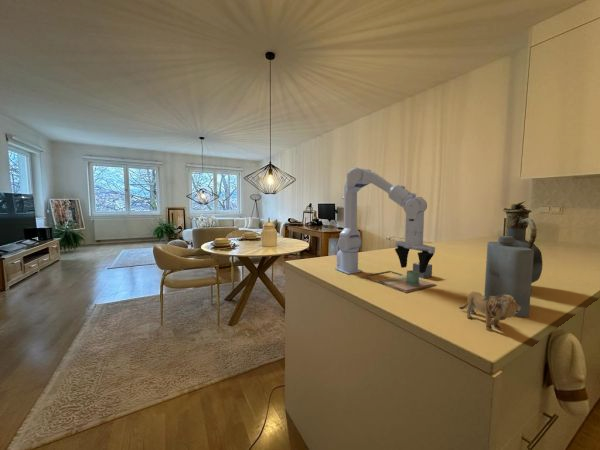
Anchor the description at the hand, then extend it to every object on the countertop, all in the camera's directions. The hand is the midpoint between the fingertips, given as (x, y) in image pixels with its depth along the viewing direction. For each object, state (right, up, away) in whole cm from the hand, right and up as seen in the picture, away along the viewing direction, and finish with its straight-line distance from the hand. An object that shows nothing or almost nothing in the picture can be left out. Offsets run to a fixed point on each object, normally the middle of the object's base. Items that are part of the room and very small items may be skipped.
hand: (412, 269), depth 87 cm
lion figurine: (+6, -8, -27) cm, 29 cm away
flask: (+18, -8, -17) cm, 26 cm away
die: (+9, -5, +13) cm, 16 cm away
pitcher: (+34, -6, -3) cm, 34 cm away
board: (-3, -5, +6) cm, 9 cm away
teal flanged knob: (0, -5, 0) cm, 5 cm away
